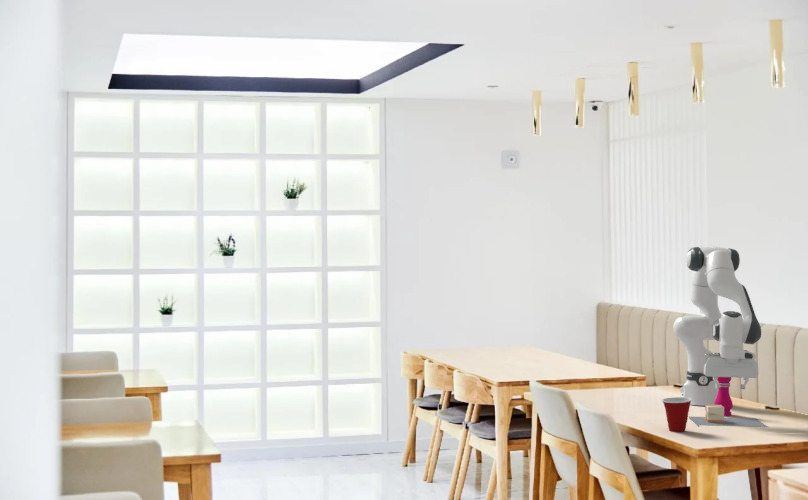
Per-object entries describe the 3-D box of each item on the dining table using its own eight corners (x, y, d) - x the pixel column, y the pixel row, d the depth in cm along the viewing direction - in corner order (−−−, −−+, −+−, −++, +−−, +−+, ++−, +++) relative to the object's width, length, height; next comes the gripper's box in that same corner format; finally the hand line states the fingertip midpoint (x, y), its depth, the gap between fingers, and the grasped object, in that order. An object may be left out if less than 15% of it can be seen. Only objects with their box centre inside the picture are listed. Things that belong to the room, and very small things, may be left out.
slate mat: (688, 417, 386) (688, 416, 386) (755, 419, 383) (755, 418, 383) (698, 426, 366) (698, 425, 366) (768, 428, 363) (768, 427, 363)
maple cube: (720, 405, 378) (720, 420, 378) (705, 404, 379) (705, 419, 378) (724, 407, 372) (724, 422, 372) (708, 406, 373) (708, 422, 373)
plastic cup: (658, 427, 362) (658, 396, 362) (687, 428, 362) (687, 396, 362) (664, 433, 351) (665, 400, 351) (694, 433, 351) (695, 400, 351)
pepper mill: (720, 417, 387) (721, 368, 387) (710, 414, 394) (710, 366, 394) (736, 417, 389) (736, 367, 389) (725, 414, 396) (726, 365, 396)
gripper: (705, 353, 373) (704, 388, 373) (759, 355, 370) (759, 390, 371) (702, 351, 379) (701, 386, 379) (755, 353, 377) (755, 388, 377)
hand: (730, 388), depth 375 cm, fingers open, 8 cm apart
